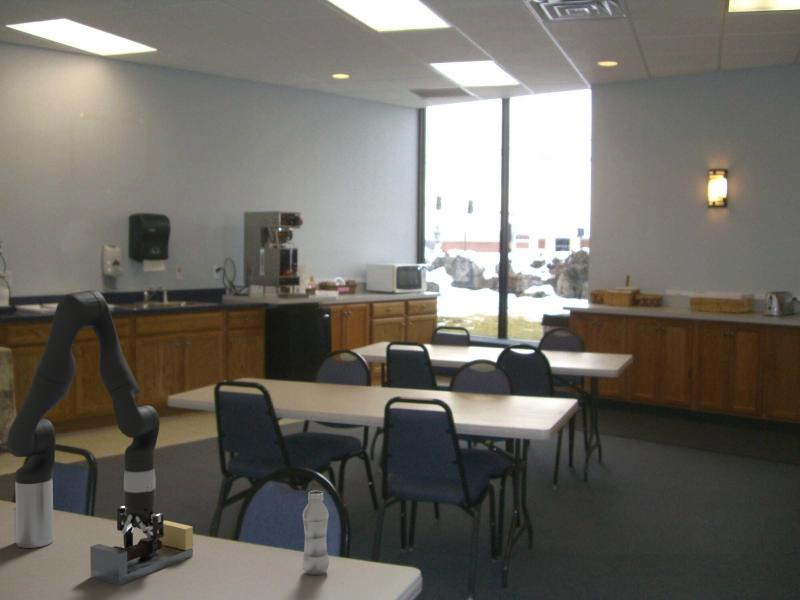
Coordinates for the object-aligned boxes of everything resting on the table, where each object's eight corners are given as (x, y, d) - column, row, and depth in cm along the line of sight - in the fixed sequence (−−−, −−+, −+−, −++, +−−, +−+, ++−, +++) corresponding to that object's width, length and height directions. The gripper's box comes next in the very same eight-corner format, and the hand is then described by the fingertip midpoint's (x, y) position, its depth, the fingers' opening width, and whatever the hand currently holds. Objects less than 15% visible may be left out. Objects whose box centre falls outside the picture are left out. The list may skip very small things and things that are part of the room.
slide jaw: (158, 543, 229) (158, 522, 229) (165, 540, 231) (165, 520, 231) (185, 550, 224) (185, 529, 224) (192, 547, 226) (192, 526, 226)
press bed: (90, 577, 211) (90, 546, 211) (165, 548, 232) (165, 521, 231) (119, 585, 206) (118, 554, 205) (192, 556, 226) (192, 527, 226)
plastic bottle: (333, 569, 217) (333, 490, 216) (321, 579, 211) (322, 497, 210) (309, 566, 219) (309, 488, 218) (297, 576, 213) (297, 495, 212)
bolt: (160, 558, 224) (117, 575, 210) (147, 545, 226) (103, 561, 212) (169, 540, 222) (126, 556, 209) (156, 527, 224) (113, 543, 211)
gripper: (108, 486, 217) (108, 550, 218) (148, 494, 210) (148, 561, 211) (131, 479, 224) (132, 542, 225) (171, 487, 216) (172, 552, 217)
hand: (140, 551), depth 218 cm, fingers open, 8 cm apart
